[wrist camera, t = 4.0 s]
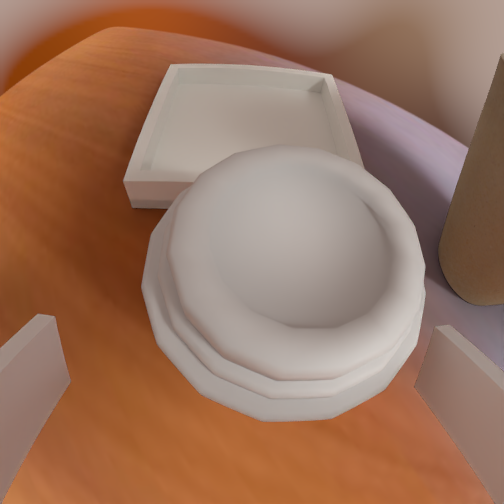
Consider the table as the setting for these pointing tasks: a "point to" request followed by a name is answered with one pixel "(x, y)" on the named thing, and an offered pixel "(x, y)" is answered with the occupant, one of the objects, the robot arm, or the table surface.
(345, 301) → the coffee cup
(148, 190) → the tray
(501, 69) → the plant pot
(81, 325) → the table surface
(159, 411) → the table surface
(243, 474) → the table surface
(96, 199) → the table surface
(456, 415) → the robot arm
